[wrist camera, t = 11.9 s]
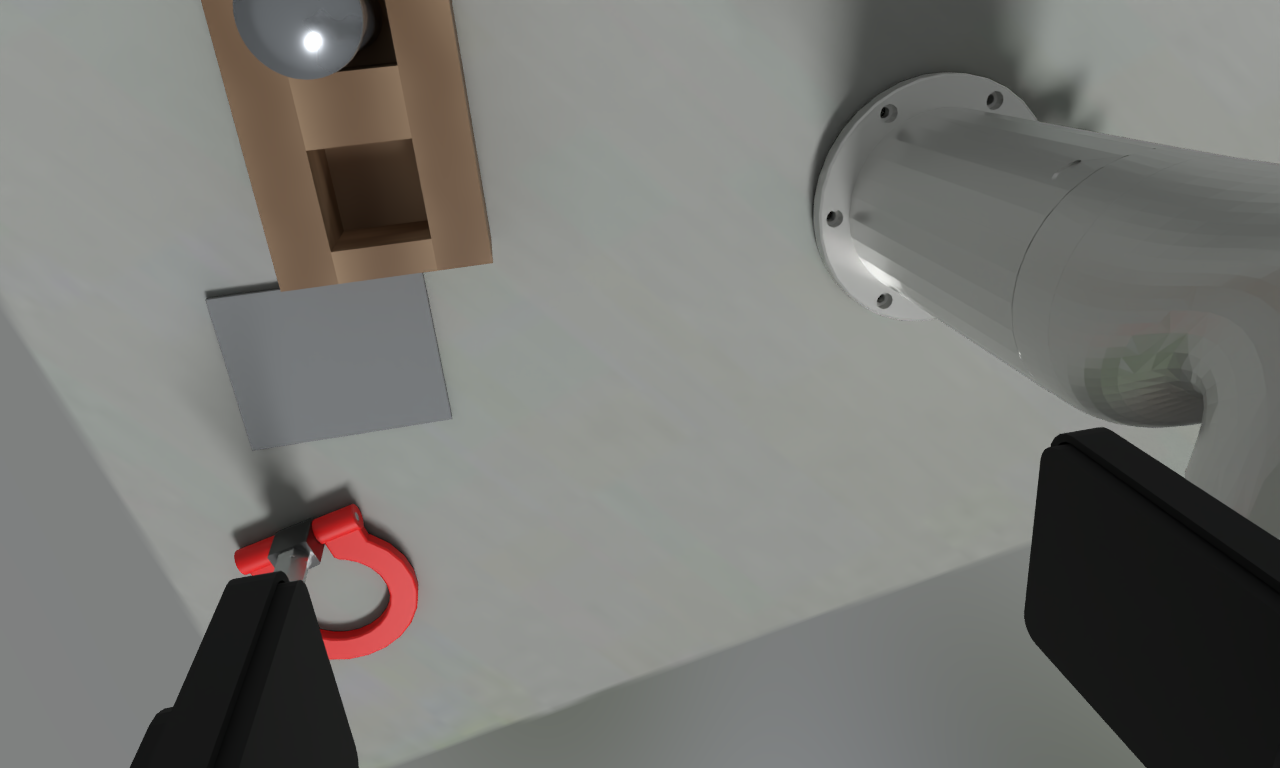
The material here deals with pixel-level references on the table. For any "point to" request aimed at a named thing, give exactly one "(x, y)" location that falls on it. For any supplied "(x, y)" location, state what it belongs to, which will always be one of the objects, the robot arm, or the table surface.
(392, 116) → the block
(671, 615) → the table surface
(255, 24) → the pin
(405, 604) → the tow hook
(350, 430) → the mat
